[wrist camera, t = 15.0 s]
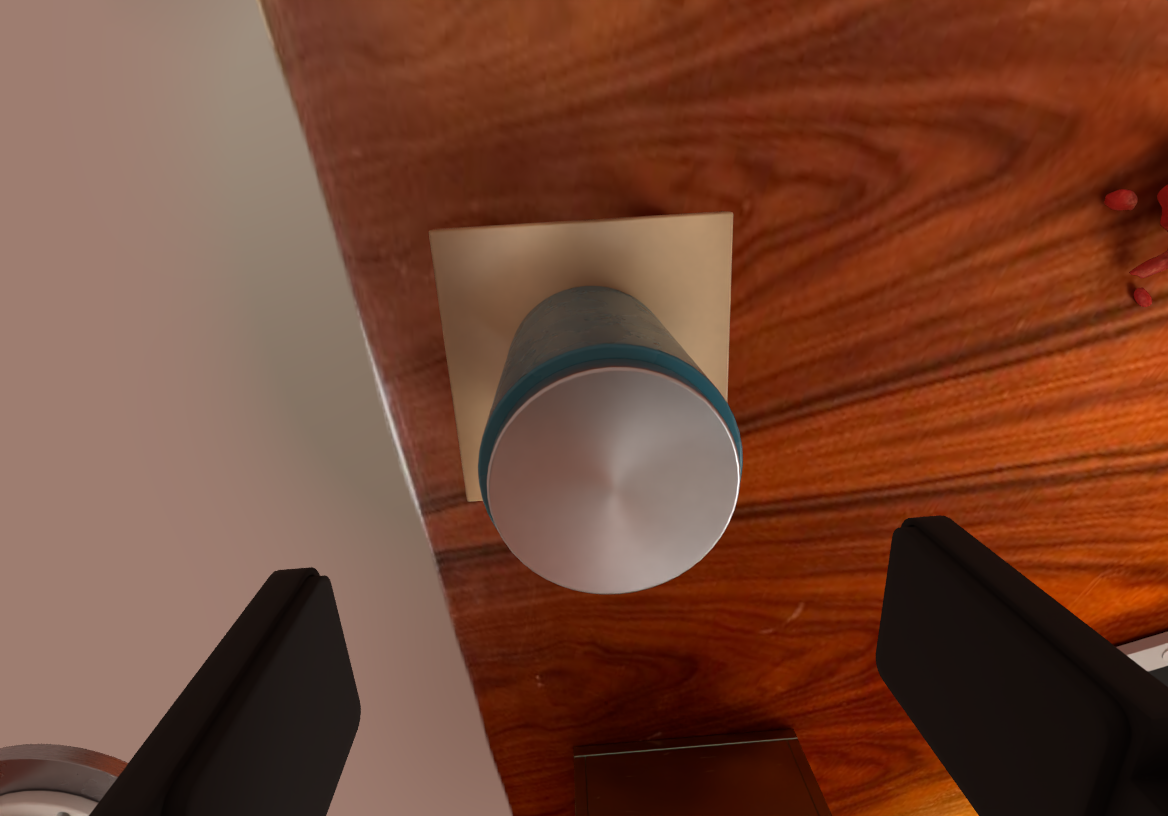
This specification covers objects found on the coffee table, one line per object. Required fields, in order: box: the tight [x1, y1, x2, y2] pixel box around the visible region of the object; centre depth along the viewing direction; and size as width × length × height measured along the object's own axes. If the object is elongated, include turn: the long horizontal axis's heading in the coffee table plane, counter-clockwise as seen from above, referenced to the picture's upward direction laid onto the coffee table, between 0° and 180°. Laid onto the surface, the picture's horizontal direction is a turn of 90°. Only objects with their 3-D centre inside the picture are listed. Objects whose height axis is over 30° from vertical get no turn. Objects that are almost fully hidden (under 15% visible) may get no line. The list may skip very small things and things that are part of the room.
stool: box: [429, 211, 733, 502], centre depth 26 cm, size 11×11×8 cm
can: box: [478, 286, 743, 594], centre depth 18 cm, size 6×6×10 cm
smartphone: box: [1117, 632, 1168, 687], centre depth 41 cm, size 7×16×1 cm, turn 20°
